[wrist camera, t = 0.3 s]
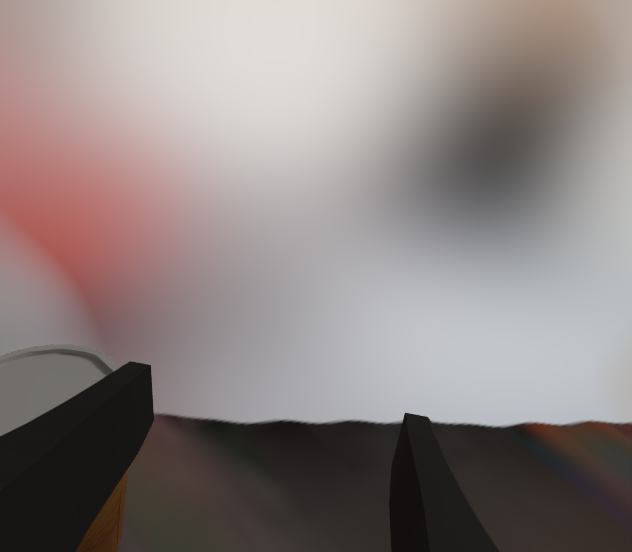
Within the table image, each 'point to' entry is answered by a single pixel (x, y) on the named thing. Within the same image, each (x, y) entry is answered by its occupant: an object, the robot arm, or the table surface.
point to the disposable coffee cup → (50, 391)
